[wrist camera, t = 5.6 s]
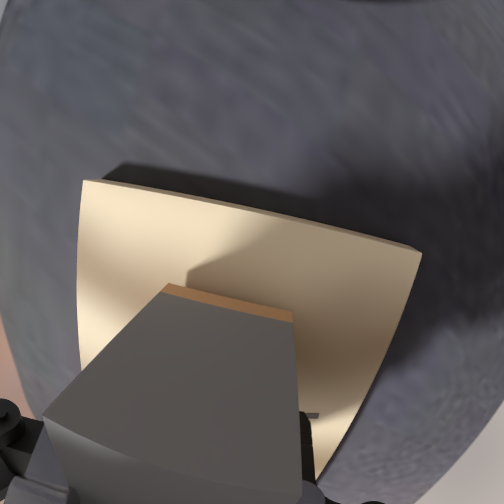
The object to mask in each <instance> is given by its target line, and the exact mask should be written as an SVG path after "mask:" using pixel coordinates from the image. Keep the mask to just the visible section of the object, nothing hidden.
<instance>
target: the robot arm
mask: <svg viewBox="0 0 504 504" xmlns="http://www.w3.org/2000/svg"><path fill="white" fill-rule="evenodd" d="M299 420H300V440H301V464H302V496H301V497H300V499H299V500H298V502H297V503H296V504H340V503H337V502H334V501H332V500H330V499H328V498H327V497H325V496H324V494H323V492H322V491H321V490H320V489H319V488H318V487H317V484H316V478H315V465H314V452H313V446H312V445H313V440H312V429H311V422H310V420H309V419H308V417H307V416H306V414H305V412H303V411H299ZM3 499H5V501H4V504H80V496H79V494H78V492H77V490H76V489H75V488H73V487H71V486H69V485H68V483H67V481H66V479H65V477H64V474H63V472H62V470H61V467H60V465H59V462H58V460H57V458H56V455H55V452H54V450H53V447H52V444H51V442H50V439H49V436H48V433H47V430H46V427H45V424H44V422H43V421H38V420H34V419H30V418H27V417H23V416H21V414H20V411H19V408H18V407H17V406H16V405H15V404H14V403H13V402H11V401H10V400H7V399H0V501H2V500H3ZM362 504H384V503H382V502H377V501H369V502H365V503H362Z"/></svg>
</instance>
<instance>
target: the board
mask: <svg viewBox="0 0 504 504" xmlns="http://www.w3.org/2000/svg"><path fill="white" fill-rule="evenodd" d="M421 257H422V253H421V252H419V251H417V250H416V249H414V248H412V247H411V246H408V245H405V244H401V243H397V242H394V241H390V240H386V239H382V238H378V237H375V236H371V235H367V234H363V233H359V232H355V231H351V230H347V229H343V228H339V227H335V226H331V225H327V224H323V223H319V222H314V221H310V220H306V219H302V218H297V217H293V216H289V215H284V214H280V213H275V212H271V211H266V210H262V209H257V208H252V207H248V206H243V205H238V204H234V203H229V202H224V201H219V200H214V199H209V198H204V197H199V196H194V195H189V194H184V193H178V192H173V191H168V190H162V189H157V188H151V187H145V186H140V185H134V184H128V183H122V182H116V181H110V180H104V179H92V180H83V188H82V197H81V207H80V218H79V231H78V250H77V315H78V334H79V347H80V358H81V368H82V370H83V369H84V368H85V367H86V366H87V365H88V364H89V363H90V362H91V361H92V360H93V359H94V358H95V357H96V356H97V355H98V354H99V352H100V351H101V350H102V349H103V348H104V347H105V346H106V345H107V344H108V343H109V342H110V341H111V340H112V339H113V338H114V337H115V336H116V335H117V334H118V333H119V332H120V331H121V330H122V329H123V328H124V327H125V326H126V325H127V324H128V323H129V322H130V321H131V320H132V319H133V318H134V317H135V316H136V315H137V314H138V313H139V312H140V311H141V310H142V309H143V308H144V307H145V306H146V305H147V304H148V303H149V302H150V301H151V300H152V299H153V298H154V297H155V296H156V295H157V294H158V293H159V292H160V291H161V290H162V289H163V288H164V287H165V286H166V285H167V284H168V283H171V284H175V285H179V286H183V287H187V288H191V289H195V290H199V291H203V292H207V293H212V294H216V295H220V296H224V297H228V298H233V299H237V300H241V301H246V302H250V303H255V304H259V305H264V306H268V307H273V308H278V309H282V310H287V311H292V316H293V328H294V341H295V355H296V369H297V385H298V401H299V411H303V412H305V414H306V416H307V417H308V419H309V420H310V422H311V429H312V440H313V445H312V446H313V452H314V465H315V478H316V479H317V477H318V476H319V474H320V473H321V471H322V470H323V468H324V467H325V465H326V464H327V462H328V461H329V459H330V458H331V456H332V454H333V453H334V451H335V450H336V448H337V446H338V445H339V443H340V441H341V440H342V438H343V436H344V434H345V433H346V431H347V429H348V428H349V426H350V424H351V422H352V420H353V419H354V417H355V415H356V413H357V411H358V409H359V408H360V406H361V404H362V402H363V400H364V398H365V396H366V394H367V392H368V390H369V388H370V386H371V384H372V382H373V380H374V378H375V376H376V374H377V372H378V369H379V367H380V365H381V363H382V361H383V358H384V356H385V354H386V352H387V349H388V347H389V345H390V342H391V340H392V338H393V335H394V333H395V330H396V328H397V325H398V323H399V320H400V318H401V315H402V313H403V310H404V307H405V305H406V302H407V299H408V296H409V294H410V291H411V288H412V285H413V282H414V279H415V276H416V273H417V270H418V267H419V263H420V260H421Z"/></svg>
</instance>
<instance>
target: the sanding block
mask: <svg viewBox="0 0 504 504" xmlns="http://www.w3.org/2000/svg"><path fill="white" fill-rule="evenodd" d="M42 418H43V421H44V424H45V427H46V430H47V433H48V436H49V439H50V442H51V444H52V447H53V450H54V452H55V455H56V458H57V460H58V462H59V465H60V467H61V470H62V472H63V474H64V477H65V479H66V481H67V483H68V485H69V486H71V487H73V488H75V489H76V490H77V492H78V494H79V496H80V504H296V503H297V502H298V500H299V499H300V497H301V496H302V464H301V440H300V420H299V401H298V385H297V369H296V355H295V341H294V328H293V316H292V311H287V310H282V309H278V308H273V307H268V306H264V305H259V304H255V303H250V302H246V301H241V300H237V299H233V298H228V297H224V296H220V295H216V294H212V293H207V292H203V291H199V290H195V289H191V288H187V287H183V286H179V285H175V284H171V283H168V284H167V285H166V286H165V287H164V288H163V289H162V290H161V291H160V292H159V293H158V294H157V295H156V296H155V297H154V298H153V299H152V300H151V301H150V302H149V303H148V304H147V305H146V306H145V307H144V308H143V309H142V310H141V311H140V312H139V313H138V314H137V315H136V316H135V317H134V318H133V319H132V320H131V321H130V322H129V323H128V324H127V325H126V326H125V327H124V328H123V329H122V330H121V331H120V332H119V333H118V334H117V335H116V336H115V337H114V338H113V339H112V340H111V341H110V342H109V343H108V344H107V345H106V346H105V347H104V348H103V349H102V350H101V351H100V352H99V354H98V355H97V356H96V357H95V358H94V359H93V360H92V361H91V362H90V363H89V364H88V365H87V366H86V367H85V368H84V369H83V370H82V371H81V373H80V374H79V375H78V376H77V377H76V378H75V379H74V380H73V381H72V382H71V383H70V384H69V385H68V386H67V387H66V389H65V390H64V391H63V392H62V393H61V394H60V395H59V396H58V397H57V398H56V399H55V401H54V402H53V403H52V404H51V405H50V406H49V407H48V408H47V409H46V410H45V412H44V413H43V414H42Z"/></svg>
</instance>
